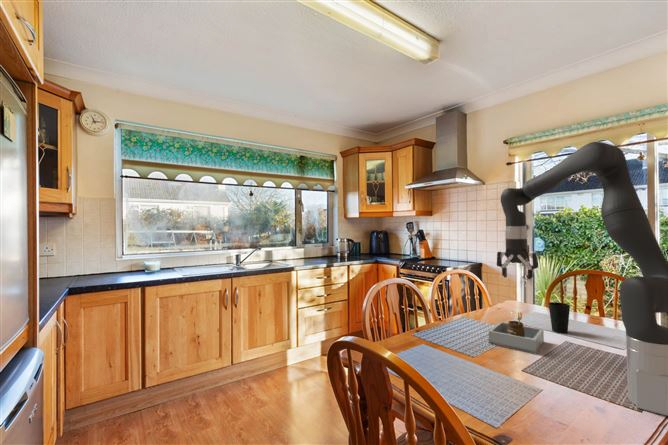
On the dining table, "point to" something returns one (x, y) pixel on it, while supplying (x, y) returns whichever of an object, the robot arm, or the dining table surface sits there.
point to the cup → (559, 317)
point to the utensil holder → (516, 327)
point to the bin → (517, 338)
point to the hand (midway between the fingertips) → (517, 278)
